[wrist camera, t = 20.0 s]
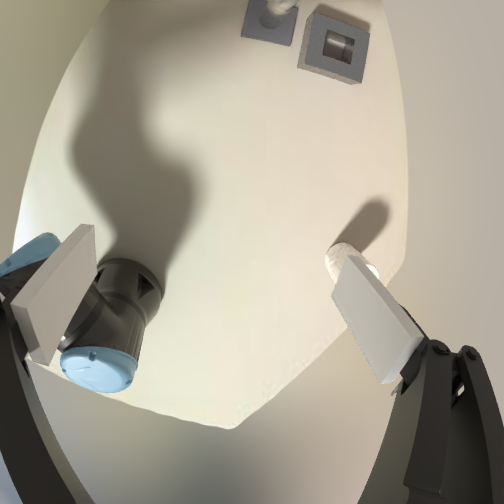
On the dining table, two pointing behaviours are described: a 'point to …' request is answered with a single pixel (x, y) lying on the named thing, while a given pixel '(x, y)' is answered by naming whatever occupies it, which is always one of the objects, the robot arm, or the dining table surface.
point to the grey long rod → (276, 12)
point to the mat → (257, 31)
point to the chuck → (339, 31)
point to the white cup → (343, 259)
